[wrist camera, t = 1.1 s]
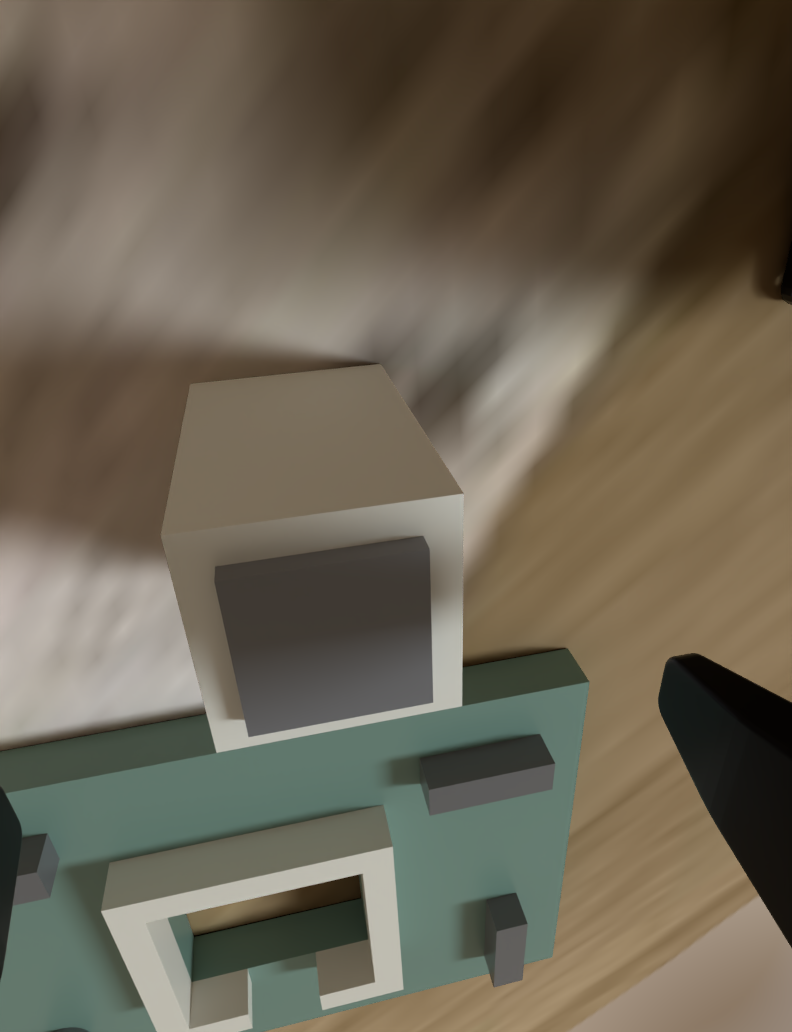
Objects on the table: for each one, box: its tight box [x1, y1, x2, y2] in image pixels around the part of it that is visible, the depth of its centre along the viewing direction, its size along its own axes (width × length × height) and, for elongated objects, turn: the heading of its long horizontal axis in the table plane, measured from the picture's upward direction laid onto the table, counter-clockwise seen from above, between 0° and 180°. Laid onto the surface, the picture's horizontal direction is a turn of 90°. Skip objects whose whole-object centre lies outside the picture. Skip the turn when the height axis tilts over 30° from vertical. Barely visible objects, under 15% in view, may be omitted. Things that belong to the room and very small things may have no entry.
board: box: [0, 649, 589, 1032], centre depth 23 cm, size 22×16×3 cm
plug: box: [161, 364, 464, 753], centre depth 14 cm, size 4×6×7 cm
